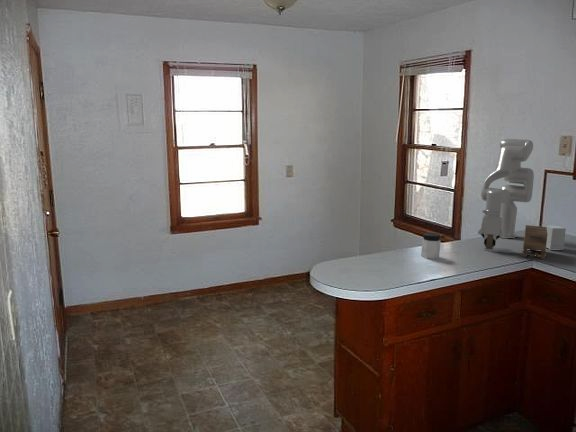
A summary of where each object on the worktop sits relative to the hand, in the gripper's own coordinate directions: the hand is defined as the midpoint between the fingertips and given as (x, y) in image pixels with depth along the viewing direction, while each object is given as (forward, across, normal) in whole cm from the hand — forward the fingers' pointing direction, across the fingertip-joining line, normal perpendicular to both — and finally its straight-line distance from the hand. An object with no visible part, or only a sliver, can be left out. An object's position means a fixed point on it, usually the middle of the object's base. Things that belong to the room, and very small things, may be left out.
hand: (489, 246), depth 266 cm
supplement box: (+2, +32, +20) cm, 38 cm away
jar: (+2, -26, -30) cm, 40 cm away
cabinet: (+2, +22, +3) cm, 22 cm away
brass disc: (+2, +25, 0) cm, 25 cm away
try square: (+2, +10, 0) cm, 10 cm away
